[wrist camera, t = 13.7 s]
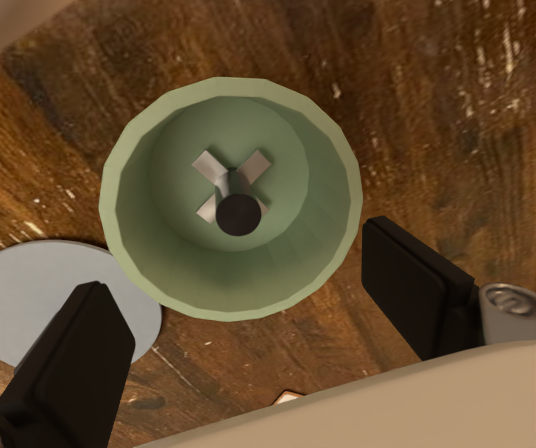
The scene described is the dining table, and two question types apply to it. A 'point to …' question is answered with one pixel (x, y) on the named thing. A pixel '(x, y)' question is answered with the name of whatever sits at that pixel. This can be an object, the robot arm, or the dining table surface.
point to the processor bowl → (200, 189)
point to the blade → (232, 193)
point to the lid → (63, 293)
